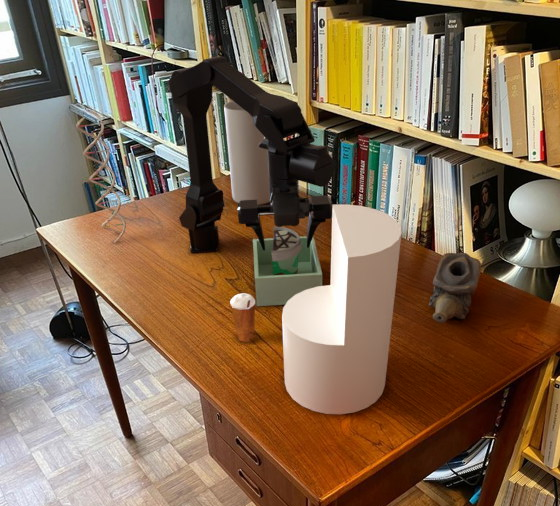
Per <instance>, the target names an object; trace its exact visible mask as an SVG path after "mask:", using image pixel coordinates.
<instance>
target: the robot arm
mask: <svg viewBox="0 0 560 506" xmlns="http://www.w3.org/2000/svg"><path fill="white" fill-rule="evenodd" d="M168 84H169V86H168V87H169V90H170V95H171V100H172V103H173V105H174V106H175V108H176V109H177V110H178V112H179V113H180V115H181V117H182V122H183V123H182V124H183V131H184V140H185V147H186V153H187V162H188V163H187V164H188V172H189V179H190V185H189V187H188V189H187V191H186V194H185V209H184V210H183V212H182V213H181V214H180V216H179V217H178V219H179V222H180V224H181V227H182V228H185V229H187V230H188V236H189V242H190V249H189V250H190V253H191V254H196V253H214V252H218V247H219V246H220V233H219V225H216V222H217V221H220V220H221V219H222V213H223V212H224V208H225V206H226V205H225V202H224V201H225V200H224V191H223V190H222V189H219V188H218V187H217V185H216V184H215V182H214V177H213V169H212V160H211V150H210V139H209V129H208V128H209V127H208V118H207V116H208V115H207V114H208V111H209V109H210V106H211V104H212V101H213V87H215V88H216V89H217V90H218V91H220V92H221V93H222V94H223V95H225V96H226V97H227V98H228V99H230V101H234V102H235V103H236V104H238V105H239V106H240V107H241V108H243V109H244V110H245V111H246V112H248V113H249V114H250V115H251V116H252V117H253V121H254V124H255V127H256V128H257V129H258V130H259V131H260V132H261V133H262V134H263V136H264V137H265V139H264V140H263V141H262V142H261V143H260V144H259V147H260V148H263V149H267V150H268V170H269V190H270V202H269V204H263V205H257V200H240V202H239V203H237V218H238V224H240V225H245V227H246V228H251V230H253V232H254V234H255V235H256V237H257V239H259V242H260V244H261V246H262V249H263V251H265V241H264V239H265V237H264V236H265V235H264V230H263V226H262V220H261V216H273V223H274V224H273V225H274V227H288V226H289V227H290V226H291V227H297V226H298V225H299V224H300V220H302V219H303V220H304V219H306V218H307V226H306V227H307V228H306V236H307V237H306V242H307V248H309V246H310V244H311V241H312V238H313V237H314V235H315V232H316V230H317V229H318V227H319V226H320V224H323V223H326V221H327V220H332V205H333V203H332V200H331V198H330V196H328V195H327V194H326V195H311V196H310V198H309V197H302V196H300V194H299V192H300V190H299V189H300V187H299V181H300V182H303V183H306V184H310V185H313V186H316V187H320V188H323V187H325V186H327V185H328V184H329V183H330V182H331V180H332V177H333V175H334V171H335V162H334V160H333V157H332V156H331V155H330V154H329V153H328V147H327V146H326V145H317V144H313V143H314V142H315V140H316V139H315V138H314V135H313V133H312V130H311V129H310V127H309V125H308V122H307V121H306V118H305V117H304V114H303V113H302V108H301V107H300V106H299V104H298V103H297V102H296V101H294V100H291V99H289V98H287V97H285V96H283V95H278V94H274V93H270V92H268V91H266V90H265V89H263V88H262V87H261V86H260V85H258V84H257V83H256V82H254V81H253V80H251V79H250V78H249V77H248V76H247V75H245V74H244V73H243V72H241V71H240V70H239V69H237V68H236V67H234V65H232V64H231V63H230V62H229V60H228V59H227V58H226V57H225V56H221V55H217V56H213V57H212V56H211V57H209V58H205V59H203V60H202V61H200V62H199V63H197V64H195V65H193V66H189V67H185V68H180V69H177V70H174V71H173V72H172V73H171V75H170V76H169V80H168ZM294 135H297V136H294ZM292 136H293V137H292ZM289 137H291V138H289ZM286 138H289V139H286ZM285 139H286V140H285Z"/></svg>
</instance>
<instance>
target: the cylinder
mask: <svg viewBox="0 0 560 506" xmlns="http://www.w3.org/2000/svg"><path fill="white" fill-rule="evenodd" d="M402 233H403V232H402V227H401V225H400V223H399V222H398V221H397V220H396V219H395V218H394V217H392V216H391V215H390V214H388V213H387V212H384V211H381V210H378V209H376V208H372V207H368V206H363V205H355V204H332V218H331V245H330V246H331V247H330V248H331V249H330V250H331V252H330V284H328V285H322V286H318V287H314V288H310V289H307V290H304V291H302V292H300V293H298V294H296V295H294V296H293V297H292V298H291V299H290V300H288V301H287V303H286V304H285V305H284V306H283V307H282V313H281V322H282V323H281V325H282V327H281V329H282V349H283V352H282V353H283V375H284V377H283V378H284V386H285V390H286V392H287V393H288V395H289V396H290V397H291V399H292V400H293V401H295V402H296V403H297V404H298V405H300V406H301V407H303V408H306V409H308V410H310V411H312V412H317V413H321V414H325V415H345V414H351V413H356V412H359V411H362V410H364V409H367V408H369V407H371V406H372V405H373V404H375V403H376V402H377V401H378V400H379V399H380V397H381V396H382V395H383V392H384V390H385V386H386V379H387V378H386V377H387V369H388V360H389V352H390V351H389V350H390V343H391V334H392V333H391V332H392V325H393V314H394V306H395V305H394V304H395V297H396V287H397V278H398V269H399V262H400V261H399V260H400V251H401V243H402V242H401V241H402Z"/></svg>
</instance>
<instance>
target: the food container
mask: <svg viewBox="0 0 560 506" xmlns="http://www.w3.org/2000/svg"><path fill="white" fill-rule="evenodd" d="M272 230H273V238H274V239H273V251H272V265H273V276H275V275H291V274H298V257H299V252H300V251H301V249H302V244H301V240H300V237H301V236H299V234H298V232H296V231H295V230H293V229H291V228H288V227H285V226H282V227H277V226H273V227H272Z"/></svg>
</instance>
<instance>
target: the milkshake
mask: <svg viewBox="0 0 560 506" xmlns="http://www.w3.org/2000/svg"><path fill="white" fill-rule="evenodd" d="M229 303H230V308H231V312H232V317H233V323H234V327H235V332H236V333H235V334H236V338H237V339H238V340H239V342H242V343H249V342H252V341H253V340H254V339H255V336H256V335H255V334H256V333H255V330H256V328H255V327H256V325H255V323H256V321H255V316H256V315H255V314H256V298H254V296H253V295H251V294H250V293H245V292H242V293H238V294H236V295H234V296H233V297H232V298H231V299H230V302H229Z"/></svg>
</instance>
